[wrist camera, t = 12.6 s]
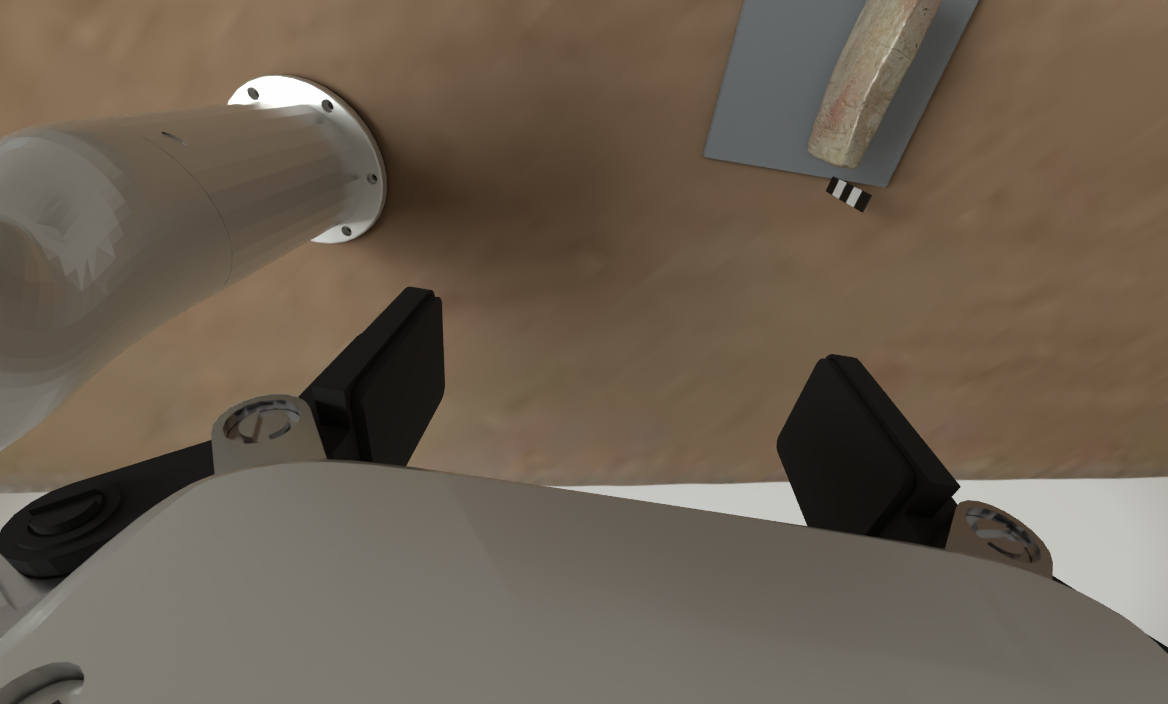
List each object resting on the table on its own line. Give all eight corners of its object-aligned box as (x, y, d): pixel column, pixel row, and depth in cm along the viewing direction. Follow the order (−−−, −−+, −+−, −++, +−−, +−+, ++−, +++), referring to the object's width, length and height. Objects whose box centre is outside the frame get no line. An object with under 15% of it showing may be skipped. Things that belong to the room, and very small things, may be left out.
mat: (702, 155, 34) (704, 157, 34) (775, -120, 26) (779, -124, 25) (880, 185, 34) (885, 187, 34) (1008, -78, 26) (1019, -82, 26)
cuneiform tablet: (863, 212, 29) (986, -19, 23) (809, 201, 29) (918, -37, 23) (826, 191, 34) (919, -5, 28) (779, 181, 34) (861, -19, 28)
